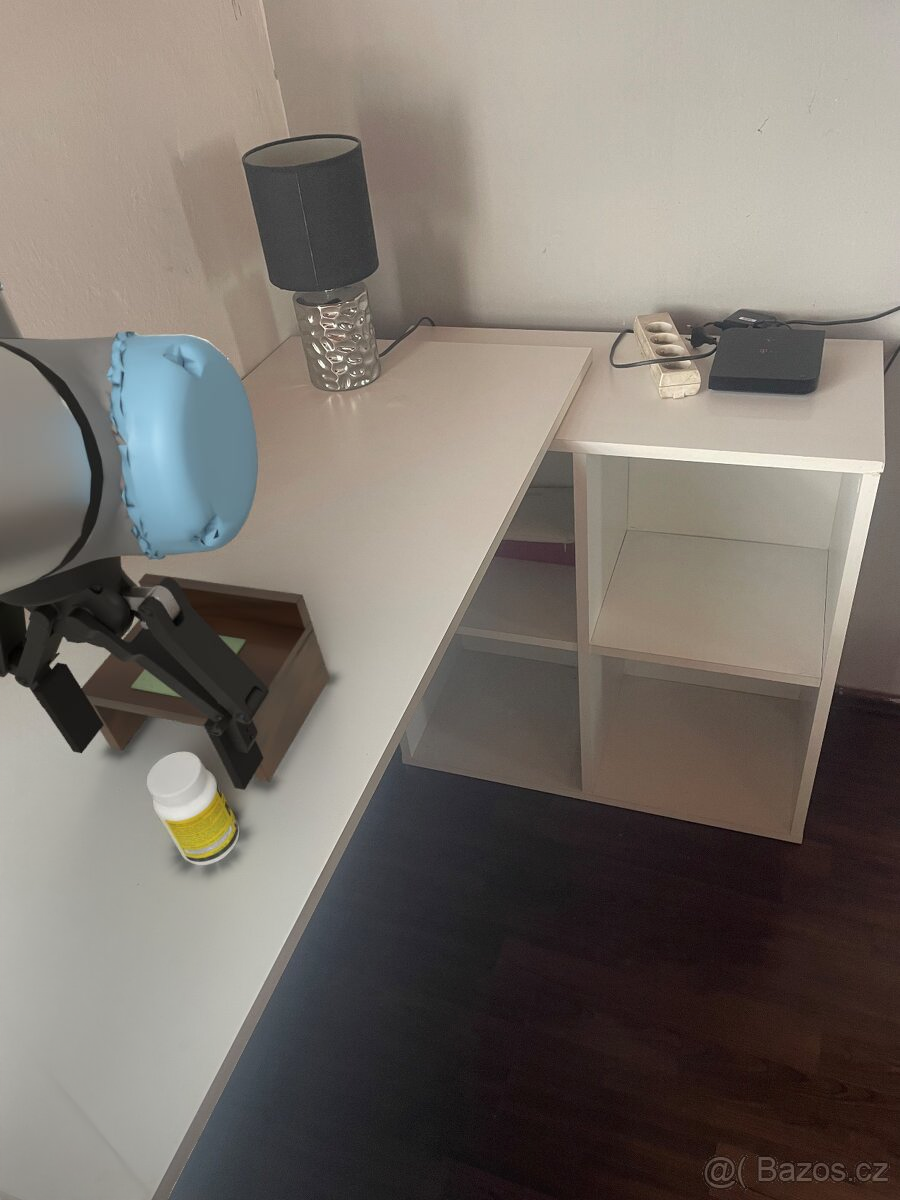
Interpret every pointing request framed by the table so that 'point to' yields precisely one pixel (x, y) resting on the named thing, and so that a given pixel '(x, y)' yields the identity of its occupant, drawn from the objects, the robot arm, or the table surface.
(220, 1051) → the table surface
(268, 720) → the shelf
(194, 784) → the supplement bottle
